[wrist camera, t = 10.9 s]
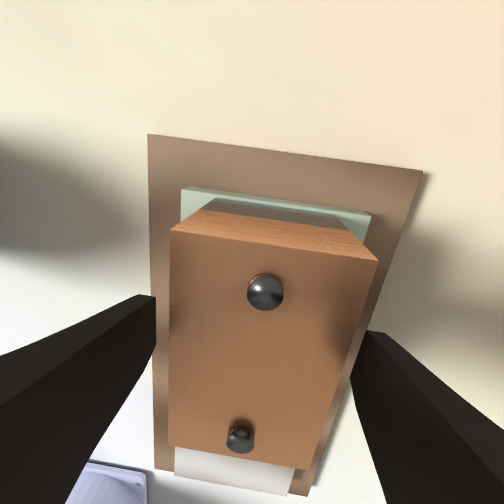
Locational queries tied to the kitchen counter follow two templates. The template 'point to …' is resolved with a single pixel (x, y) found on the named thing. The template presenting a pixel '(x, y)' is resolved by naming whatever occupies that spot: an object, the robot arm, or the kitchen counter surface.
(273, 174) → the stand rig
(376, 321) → the kitchen counter surface
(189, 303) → the plate
